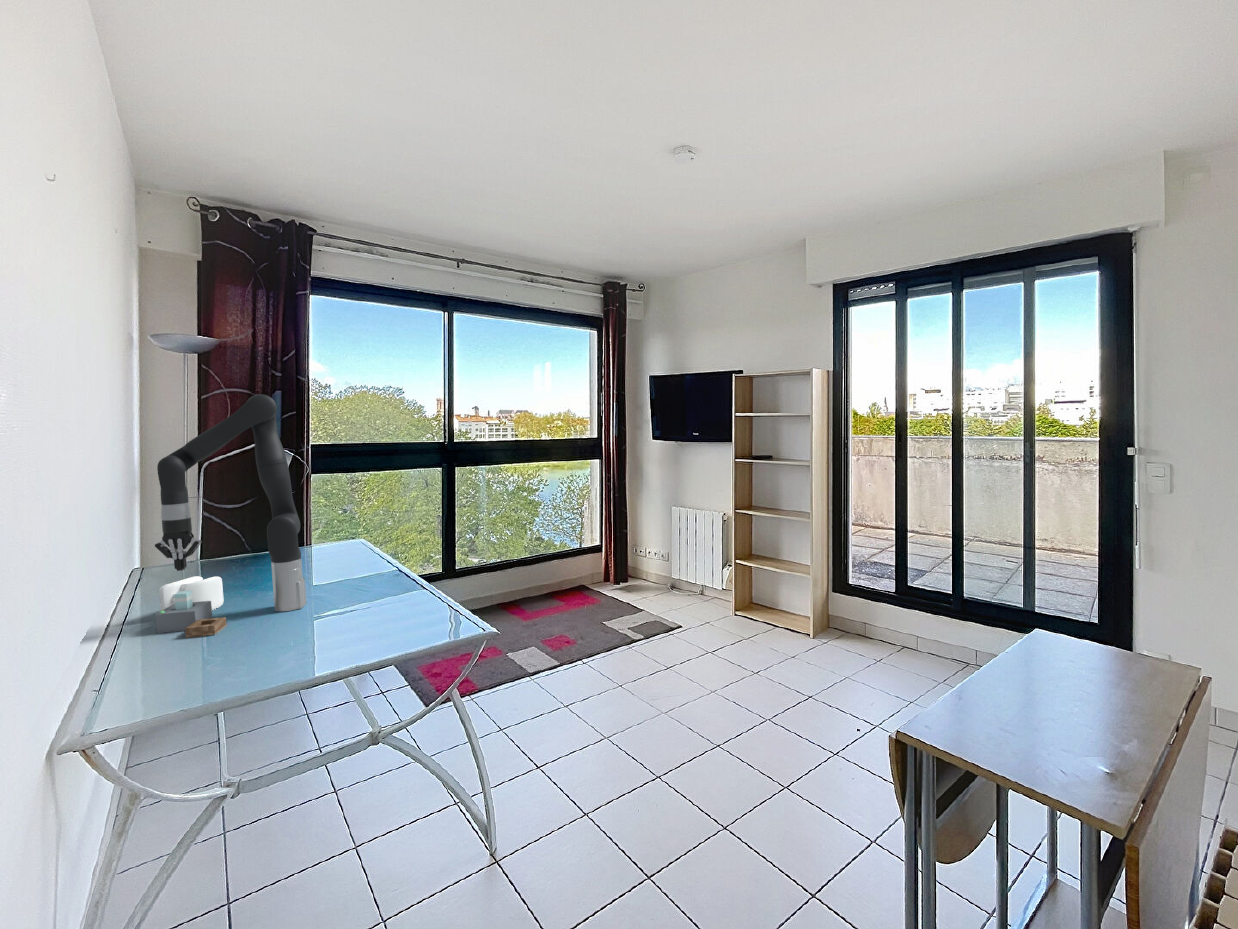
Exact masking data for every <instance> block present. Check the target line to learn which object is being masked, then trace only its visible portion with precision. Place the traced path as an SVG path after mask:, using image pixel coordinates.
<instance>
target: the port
mask: <svg viewBox="0 0 1238 929" xmlns="http://www.w3.org/2000/svg"><path fill="white" fill-rule="evenodd" d="M192 604H193V607H191V608H190V609H184V610H176V609H175V604H173V605H171V606H169V607H168V608H166V609H164V610H162V611H161V610H160V611H159V612H157V613H156V614H154V615H155V616H154V617H155V626H156V634H160V633H162V634H164V633H172V632H173V633H174V632H180V631H181V632H183V631H184V632H185V628H186V627H188V626H189V625H191V624H192V623H194V622H195V621H197V620H200V619H211V618H213V611H212V607H211V601H202V602H192Z"/></svg>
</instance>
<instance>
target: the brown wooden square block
mask: <svg viewBox="0 0 1238 929" xmlns="http://www.w3.org/2000/svg"><path fill="white" fill-rule="evenodd" d="M225 626H226V627H227V617H226V616H224V617H212V618H211V619H200V620H197V621H195V622H194V623H192V624H191V625H189V626H188V627H186V628H185V631H184V632H185V638H186V639H187V638H199V637H207V636H206V635H210V636H214V635H213V634H216V633H217V632H218V633H220V632H221V631H222V630H224V629H225V628H226V627H225ZM224 627H225V628H224ZM223 628H224V629H223ZM221 629H222V630H221ZM220 630H221V631H220ZM219 631H220V632H219ZM218 633H217V634H218ZM217 634H216V635H217Z"/></svg>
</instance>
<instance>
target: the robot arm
mask: <svg viewBox="0 0 1238 929" xmlns="http://www.w3.org/2000/svg"><path fill="white" fill-rule="evenodd" d="M277 411H278V406H277V403H276V401H275V400H274V399H273V397H270V396H269V395H267V394H262V393H261V394H260V393H259V394H255V395H252V396H251V397H249V398H248V399H247V400H246V402H245V403H244V404H242V406H240V408H238V409H237V410H236V411H234V412H233V413H232V414H231V415H229V416H228V417H226V418H225V419H224V420H222V421H220V422H219V423H217V424H215V425H214V426H212V427H210V428H208V429H206V430H205V431H204V432H202V433H199V435H197V436H196V437H194V438H192V439H191V440H189V441H187V443H186V444H184V445H183V446H181V447H180V448H178V449H176V450H175V451H173V452H172V453H170V454H168V455H166V456H165V457H162V458H161V459H159V461H158V463H157V466H156V467H157V469H156V470H157V476H158V477H157V478H158V481H159V486H160V505H161V507H160V508H161V509H160V511H161V512H160V519H161V527H162V537H161V540H160V541H159V542H157V543H155V544H154V547H155V548H156V549H157V550H158V551H159V552H160V553H162V555H163V556H164V557H165V558H166V559H172V560H173V564H174V565H173V566H174V567H173V568H174V569H175V570H176V571H177V572H178V571H179V572H180V571H185V569H186V568H187V566H188V565H187V558H189V557H190V556H192V555H193V554H195V552H196V551H197V549H198V548H199V547H200V546H201V545H202V542H203V540H202V539H197V538H195V536H194V533H193V528H192V527H193V526H192V515H191V514H192V513H191V507H190V503H189V501H190V500H189V492H188V487H187V485H186V481H187V480H186V479H187V478H186V471H188V470H189V469H191V468H192V467H193V466H195V465H196V464H197V463H199V462H201V461H202V462H203V460H205V459H207V458H208V457H210V456H212V455H213V454H214V453H216V452H217V451H219V450H221V449H222V448H223V447H225V446H226V445H228V444H229V443H230V442H231V441H232V440H233V439H235V438H237V437H238V436H239V435H240V434H242V433H243V432H245V431H247V430H248V429H251V430H252V434H253V439H254V456H255V463H256V469H257V473H258V477H259V478H258V479H259V481H260V484H261V487H262V488H263V490H264V492H265V495H266V496H267V499H268V500H269V501H268V502H269V505H270V510H271V520H270V521H269V523H268V524H267V527H266V540H267V547H268V548H267V549H268V554H269V557H270V561H271V562H270V563H271V564H270V566H271V577H272V591H273V593H272V594H273V602H274V604H273V605H274V611H276V612H288V611H289V612H290V611H294V610H301V609H302V608H303V607H304V606H306V604H307V593H306V592H307V591H306V578H305V577H303V567H302V566H303V565H302V564H303V563H302V551H301V549H300V548H299V547H300V546H299V538H298V534H299V533H300V530H301V520H300V517H299V515H298V511H297V509H296V506H295V501H294V498H293V491H292V490H293V488H292V483H291V474H290V470H289V469H290V468H289V464H288V460H287V456H286V453H285V449H284V447H283V445H282V442H281V438H280V436H279V431H278V425H277ZM190 545H191V546H190ZM189 546H190V547H189ZM188 547H189V549H188Z"/></svg>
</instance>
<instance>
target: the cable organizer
mask: <svg viewBox="0 0 1238 929" xmlns="http://www.w3.org/2000/svg"><path fill="white" fill-rule="evenodd" d="M223 590H224V588H223V579H222V577H221V576H212V577H208V578H203V577H202V576H198V575H197V576H191V577H188V578H184V579H181V580H177V581H174V582H171V583H166V584H164V585H162V586H161V587H160V588H159V591H158V593H159V594H158V595H159V596H158V597H159V604H160V606H159V607H160V612H161V611H162V610H164V609H166V608H168V607H169V606H171V605H173V604H175V601H174V599H175V598H174V594H176V593H178V592H179V591H191V592H192V602H202V601H211V607H212V610H213V611H215V610H217V609H216V608H218V609H219V608H220V607H221V606H223V604H224V602H225V601H224V600H225V599H224V591H223ZM214 609H215V610H214Z"/></svg>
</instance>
